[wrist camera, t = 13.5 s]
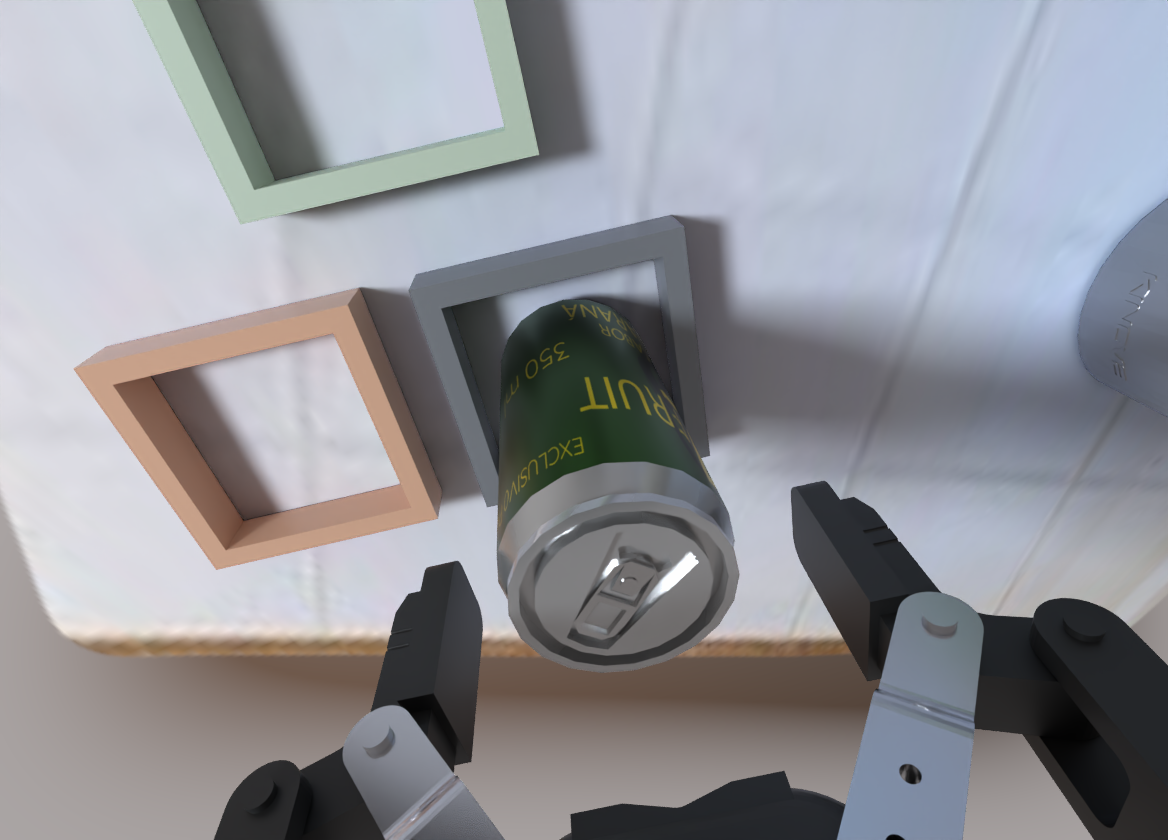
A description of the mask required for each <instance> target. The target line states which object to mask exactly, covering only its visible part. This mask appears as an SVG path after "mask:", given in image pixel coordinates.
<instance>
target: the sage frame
mask: <svg viewBox="0 0 1168 840" xmlns="http://www.w3.org/2000/svg"><path fill="white" fill-rule="evenodd" d="M132 1H133V3H134V5H135V7H136V9H137V11H138V13H139V15H140V18H141V20H142V22H143V24H144V26H145V28H146V30H147V32H148V34H149V36H150V38H151V40H152V42H153V44H154V46H155V48H156V51H157V53H158V55H159V57H160V59H161V61H162V63H163V65H164V67H165V69H166V71H167V73H168V75H169V77H170V79H171V82H172V84H173V86H174V88H175V90H176V92H177V94H178V96H179V98H180V100H181V102H182V104H183V106H184V108H185V110H186V113H187V115H188V117H189V119H190V121H191V123H192V125H193V127H194V129H195V131H196V133H197V135H198V137H199V139H200V141H201V144H202V146H203V148H204V150H205V152H206V154H207V156H208V158H209V160H210V162H211V164H212V166H213V168H214V170H215V172H216V175H217V177H218V179H219V181H220V183H221V185H222V187H223V189H224V191H225V193H226V195H227V197H228V199H229V201H230V203H231V206H232V208H233V210H234V212H235V214H236V216H237V218H238V220H239V222H240V224H245V223H249V222H253V221H258V220H262V219H266V218H271V217H275V216H279V215H283V214H288V213H292V212H296V211H300V210H305V209H309V208H313V207H318V206H322V205H326V204H330V203H335V202H339V201H343V200H347V199H352V198H356V197H360V196H365V195H369V194H373V193H377V192H382V191H386V190H390V189H394V188H399V187H403V186H407V185H412V184H416V183H420V182H424V181H429V180H433V179H437V178H442V177H446V176H450V175H454V174H459V173H463V172H467V171H471V170H476V169H480V168H484V167H489V166H493V165H497V164H501V163H506V162H510V161H514V160H518V159H523V158H527V157H531V156H536V155H539V151H538V146H537V142H536V137H535V133H534V128H533V123H532V119H531V114H530V110H529V105H528V101H527V96H526V92H525V87H524V83H523V78H522V74H521V69H520V65H519V60H518V55H517V51H516V46H515V42H514V37H513V33H512V28H511V24H510V19H509V15H508V10H507V6H506V1H505V0H474V3H475V7H476V12H477V16H478V20H479V24H480V28H481V32H482V36H483V40H484V45H485V49H486V53H487V57H488V61H489V65H490V69H491V73H492V77H493V82H494V86H495V90H496V94H497V98H498V102H499V106H500V110H501V114H502V119H503V123H504V127H502V128H498V129H494V130H489V131H485V132H481V133H477V134H472V135H468V136H464V137H459V138H455V139H451V140H447V141H442V142H438V143H434V144H430V145H425V146H421V147H417V148H413V149H408V150H404V151H400V152H395V153H391V154H387V155H383V156H378V157H374V158H370V159H366V160H361V161H357V162H353V163H348V164H344V165H340V166H336V167H331V168H327V169H323V170H319V171H314V172H310V173H306V174H302V175H297V176H293V177H289V178H284V179H280V180H276V181H275V179H274V177H273V175H272V172H271V170H270V168H269V165H268V163H267V161H266V159H265V156H264V154H263V152H262V150H261V147H260V145H259V143H258V140H257V138H256V136H255V134H254V131H253V129H252V127H251V124H250V122H249V120H248V118H247V115H246V113H245V111H244V109H243V106H242V104H241V102H240V99H239V97H238V95H237V93H236V90H235V88H234V86H233V83H232V81H231V79H230V77H229V74H228V72H227V70H226V68H225V65H224V63H223V61H222V58H221V56H220V54H219V52H218V49H217V47H216V45H215V42H214V40H213V38H212V36H211V33H210V31H209V29H208V27H207V24H206V22H205V20H204V17H203V15H202V13H201V11H200V8H199V6H198V4H197V1H196V0H132Z"/></svg>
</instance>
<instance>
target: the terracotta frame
mask: <svg viewBox="0 0 1168 840" xmlns="http://www.w3.org/2000/svg"><path fill="white" fill-rule="evenodd" d="M329 334H334V336H335V338H336V341H337V343H338V345H339V347H340V350H341V352H342V354H343V356H344V358H345V361H346V363H347V365H348V367H349V370H350V372H351V374H352V376H353V379H354V381H355V383H356V385H357V388H358V390H359V392H360V394H361V396H362V399H363V401H364V403H365V405H366V408H367V410H368V412H369V414H370V417H371V419H372V421H373V423H374V426H375V428H376V430H377V432H378V434H379V437H380V439H381V441H382V443H383V446H384V448H385V450H386V452H387V455H388V457H389V459H390V461H391V464H392V466H393V468H394V470H395V472H396V475H397V477H398V479H399V481H400V484H401V485H396V486H392V487H388V488H383V489H379V490H375V491H370V492H366V493H362V494H357V495H353V496H349V497H344V498H340V499H336V500H332V501H327V502H323V503H319V504H314V505H310V506H306V507H301V508H297V509H293V510H288V511H284V512H280V513H275V514H271V515H267V516H262V517H258V518H254V519H249V520H245V521H243V519H242V518H241V516H240V515H239V513H238V512H237V510H236V509H235V507H234V505H233V504H232V502H231V501H230V499H229V498H228V496H227V495H226V493H225V491H224V490H223V488H222V487H221V485H220V484H219V482H218V480H217V479H216V477H215V476H214V474H213V473H212V471H211V470H210V468H209V466H208V465H207V463H206V462H205V460H204V459H203V457H202V456H201V454H200V452H199V451H198V449H197V448H196V446H195V445H194V443H193V441H192V440H191V438H190V437H189V435H188V434H187V432H186V431H185V429H184V427H183V426H182V424H181V423H180V421H179V420H178V418H177V417H176V415H175V413H174V412H173V410H172V409H171V407H170V406H169V404H168V402H167V401H166V399H165V398H164V396H163V395H162V393H161V392H160V390H159V388H158V387H157V385H156V384H155V382H154V381H153V379H152V378H151V376H153V375H157V374H161V373H165V372H170V371H174V370H178V369H183V368H187V367H191V366H195V365H200V364H204V363H208V362H213V361H217V360H221V359H226V358H230V357H234V356H238V355H243V354H247V353H251V352H256V351H260V350H264V349H269V348H273V347H277V346H281V345H286V344H290V343H294V342H299V341H303V340H307V339H311V338H316V337H320V336H324V335H329ZM74 370H75V372H76V373H77V374H78V376H79V377H80V379H81V380H82V381H83V383H84V384H85V386H86V387H87V388H88V390H89V391H90V393H91V394H92V396H93V397H94V398H95V400H96V401H97V403H98V404H99V405H100V407H101V408H102V410H103V411H104V412H105V414H106V415H107V417H108V418H109V419H110V421H111V422H112V424H113V425H114V427H115V428H116V429H117V431H118V432H119V434H120V435H121V436H122V438H123V439H124V441H125V442H126V443H127V445H128V446H129V448H130V449H131V450H132V452H133V453H134V455H135V456H136V457H137V459H138V460H139V462H140V463H141V465H142V466H143V467H144V469H145V470H146V472H147V473H148V474H149V476H150V477H151V479H152V480H153V481H154V483H155V484H156V486H157V487H158V488H159V490H160V491H161V493H162V494H163V496H164V497H165V498H166V500H167V501H168V503H169V504H170V505H171V507H172V508H173V510H174V511H175V512H176V514H177V515H178V517H179V518H180V519H181V521H182V522H183V524H184V525H185V526H186V528H187V529H188V531H189V532H190V534H191V535H192V536H193V538H194V539H195V541H196V542H197V543H198V545H199V546H200V548H201V549H202V550H203V552H204V553H205V555H206V556H207V557H208V559H209V560H210V562H211V563H212V565H213V566H214V567H215V569H216V570H218V569H222V568H226V567H231V566H235V565H239V564H244V563H248V562H252V561H257V560H261V559H265V558H270V557H274V556H278V555H283V554H287V553H291V552H296V551H300V550H304V549H309V548H313V547H317V546H322V545H326V544H330V543H335V542H339V541H343V540H348V539H352V538H356V537H361V536H365V535H369V534H374V533H378V532H382V531H386V530H391V529H395V528H399V527H404V526H408V525H412V524H417V523H421V522H425V521H430V520H434V519H438V515H439V509H440V502H441V496H442V490H441V487H440V485H439V482H438V480H437V477H436V475H435V472H434V470H433V468H432V465H431V463H430V460H429V458H428V455H427V453H426V450H425V448H424V445H423V443H422V440H421V438H420V436H419V433H418V431H417V428H416V426H415V423H414V421H413V418H412V416H411V413H410V411H409V408H408V406H407V403H406V401H405V399H404V396H403V394H402V391H401V389H400V386H399V384H398V381H397V379H396V376H395V374H394V371H393V369H392V367H391V364H390V362H389V359H388V357H387V354H386V352H385V349H384V347H383V344H382V342H381V339H380V337H379V335H378V332H377V330H376V327H375V325H374V322H373V320H372V317H371V315H370V312H369V310H368V307H367V305H366V302H365V300H364V298H363V295H362V293H361V290H360V288H356V289H352V290H347V291H343V292H339V293H334V294H330V295H326V296H321V297H317V298H313V299H309V300H304V301H300V302H296V303H291V304H287V305H283V306H279V307H274V308H270V309H266V310H261V311H257V312H253V313H249V314H244V315H240V316H236V317H231V318H227V319H223V320H219V321H214V322H210V323H206V324H201V325H197V326H193V327H189V328H184V329H180V330H176V331H171V332H167V333H163V334H158V335H154V336H150V337H146V338H141V339H137V340H133V341H128V342H124V343H120V344H116V345H111V346H107V347H105V348H103V349H102V350H100V351H99V352H97V353H96V354H94V355H93V356H91V357H90V358H89V359H87V360H86V361H84V362H83V363H81V364H80V365H78V366H77V367H75V368H74Z"/></svg>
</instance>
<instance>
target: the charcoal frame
mask: <svg viewBox="0 0 1168 840" xmlns="http://www.w3.org/2000/svg"><path fill="white" fill-rule="evenodd" d="M651 259H654V265H655V272H656V279H657V286H658V293H659V300H660V307H661V314H662V321H663V328H664V335H665V342H666V349H667V356H668V363H669V371H670V378H671V385H672V392H673V399H674V406H675V408H676V410H677V412H678V414H679V416H680V418H681V419H682V421H683V423H684V425H685V427H686V429H687V431H688V433H689V435H690V437H691V439H692V441H693V443H694V445H695V447H696V449H697V451H698V453H699V455H700V457H701V458H703V457H707V456H710V452H709V443H708V434H707V425H706V416H705V407H704V398H703V389H702V380H701V371H700V363H699V354H698V345H697V336H696V327H695V318H694V309H693V300H692V291H691V282H690V274H689V265H688V256H687V247H686V238H685V229H684V226H683V225H682V224H681V223H680V222H678V221H677V220H676V219H675V218H674V217H673V216H671V215H669V216H665V217H660V218H656V219H652V220H647V221H643V222H639V223H635V224H630V225H626V226H622V227H617V228H613V229H609V230H605V231H600V232H596V233H592V234H587V235H583V236H579V237H575V238H570V239H566V240H562V241H557V242H553V243H549V244H545V245H540V246H536V247H532V248H527V249H523V250H519V251H515V252H510V253H506V254H502V255H497V256H493V257H489V258H484V259H480V260H476V261H472V262H467V263H463V264H459V265H454V266H450V267H446V268H442V269H437V270H433V271H429V272H424V273H420V274H416V275H415V278H414V280H413V282H412V284H411V286H410V289H409V293H410V296H411V299H412V301H413V304H414V307H415V310H416V312H417V315H418V318H419V321H420V323H421V326H422V329H423V332H424V334H425V337H426V340H427V343H428V345H429V348H430V351H431V354H432V356H433V359H434V362H435V365H436V368H437V370H438V373H439V376H440V379H441V381H442V384H443V387H444V390H445V392H446V395H447V398H448V401H449V403H450V406H451V409H452V412H453V414H454V417H455V420H456V423H457V425H458V428H459V431H460V434H461V436H462V439H463V442H464V445H465V447H466V450H467V453H468V456H469V458H470V461H471V464H472V467H473V469H474V472H475V475H476V478H477V480H478V483H479V486H480V489H481V491H482V494H483V497H484V500H485V502H486V505H487V507H490V506H495V505H498V483H499V450H498V447H497V444H496V441H495V438H494V435H493V432H492V429H491V426H490V423H489V420H488V417H487V414H486V411H485V408H484V405H483V402H482V399H481V396H480V393H479V390H478V387H477V384H476V381H475V378H474V375H473V372H472V369H471V366H470V363H469V360H468V357H467V354H466V351H465V348H464V345H463V342H462V339H461V336H460V332H459V329H458V326H457V323H456V320H455V317H454V314H453V311H452V308H451V306H453V305H458V304H462V303H466V302H470V301H475V300H479V299H483V298H488V297H492V296H496V295H500V294H505V293H509V292H513V291H518V290H522V289H526V288H531V287H535V286H539V285H543V284H548V283H552V282H556V281H561V280H565V279H569V278H574V277H578V276H582V275H586V274H591V273H595V272H599V271H604V270H608V269H612V268H616V267H621V266H625V265H629V264H634V263H638V262H642V261H647V260H651Z"/></svg>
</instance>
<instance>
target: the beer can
mask: <svg viewBox="0 0 1168 840" xmlns="http://www.w3.org/2000/svg"><path fill="white" fill-rule="evenodd" d="M734 541H735V540H734V535H733V531H732V526H731V521H730V517H729V513H728V511H727V509H726V507H725V505H724V503H723V501H722V499H721V497H720V495H719V493H718V491H717V489H716V487H715V485H714V483H713V481H712V479H711V477H710V475H709V473H708V471H707V469H706V467H705V465H704V463H703V461H702V459H701V457H700V455H699V453H698V451H697V449H696V447H695V445H694V443H693V441H692V439H691V437H690V435H689V433H688V431H687V429H686V427H685V425H684V423H683V421H682V419H681V418H680V416H679V414H678V412H677V410H676V408H675V406H674V404H673V402H672V400H671V398H670V396H669V394H668V392H667V390H666V388H665V386H664V384H663V382H662V380H661V378H660V376H659V374H658V372H657V370H656V368H655V366H654V364H653V362H652V360H651V358H650V356H649V354H648V352H647V350H646V348H645V346H644V344H643V342H642V340H641V338H640V337H639V335H638V334H637V332H636V331H635V329H634V328H633V326H632V325H631V324H630V322H629V321H628V319H626V318H625V317H623V316H622V315H621V314H619V313H618V312H617V311H615V310H614V309H612V308H611V307H609V306H606V305H603V304H600V303H597V302H593V301H590V300H562V301H558V302H555V303H552V304H549V305H546V306H543V307H540V308H539V309H537V310H536V311H535V312H533V313H532V314H530V315H529V316H528V317H526V318H525V319H523V320H522V321H521V322H520V323H519V325H518V326H517V328H516V329H515V330H514V332H513V333H512V334H511V336H510V337H509V338H508V341H507V344H506V347H505V350H504V353H503V357H502V360H501V399H500V441H499V483H498V524H497V566H498V582H499V584H500V586H501V588H502V590H503V592H504V594H505V596H506V598H507V600H508V610H509V617H510V619H511V620H512V622H513V624H514V626H515V628H516V630H517V632H518V634H519V636H520V638H521V639H522V640H523V641H524V642H526V643H527V644H528V645H529V646H530V647H532V648H533V649H534V650H535V651H536V652H537V653H539V654H540V655H541V656H542V657H544V658H547V659H549V660H552V661H554V662H556V663H559V664H561V665H564V666H566V667H569V668H572V669H580V670H587V671H593V672H600V673H604V672H617V671H630V670H637V669H641V668H644V667H647V666H651V665H654V664H658V663H661V662H665V661H668V660H669V659H671V658H673V657H675V656H677V655H679V654H681V653H683V652H685V651H686V650H688V649H690V648H692V647H694V646H696V645H697V644H698V643H699V642H700V641H701V640H702V639H704V638H705V637H706V636H707V635H708V634H709V633H710V632H711V631H713V630H714V629H715V628H716V627H717V626H718V625H719V624H720V622H721V621H722V619H723V617H724V616H725V614H726V613H727V611H728V609H729V608H730V606H731V605H732V603H733V601H734V598H735V593H736V589H737V584H738V579H739V570H738V565H737V561H736V556H735V552H734V548H733V547H734Z"/></svg>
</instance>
